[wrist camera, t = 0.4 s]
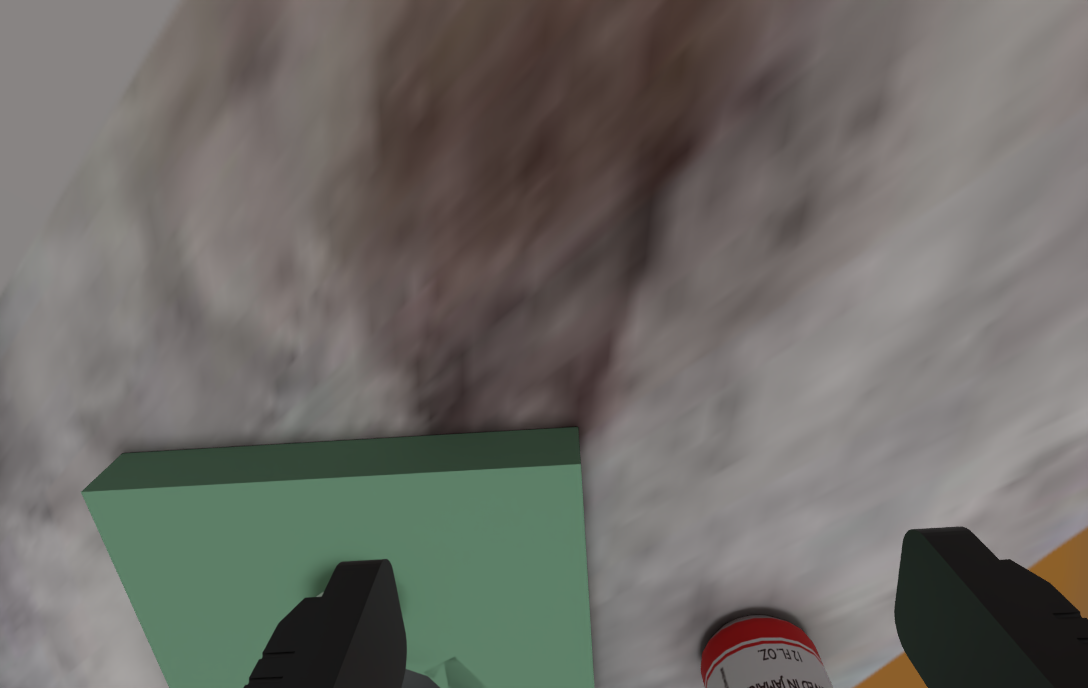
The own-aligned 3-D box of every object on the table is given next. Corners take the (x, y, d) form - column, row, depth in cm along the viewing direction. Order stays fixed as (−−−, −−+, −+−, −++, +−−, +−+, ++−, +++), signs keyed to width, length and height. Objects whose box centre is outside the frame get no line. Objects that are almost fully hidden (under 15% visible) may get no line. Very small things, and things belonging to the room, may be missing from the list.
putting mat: (122, 453, 31) (80, 492, 28) (578, 426, 30) (580, 464, 28) (236, 734, 40) (213, 785, 37) (595, 720, 39) (599, 770, 36)
